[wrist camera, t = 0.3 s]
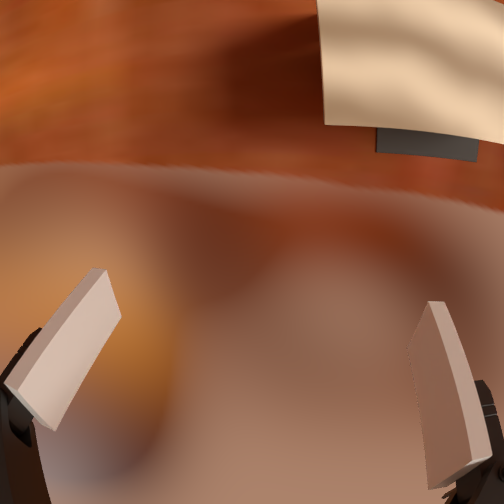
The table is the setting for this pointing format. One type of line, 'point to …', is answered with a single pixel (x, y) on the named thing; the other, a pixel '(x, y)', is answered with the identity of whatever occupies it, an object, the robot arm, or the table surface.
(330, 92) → the bridge
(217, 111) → the table surface
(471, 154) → the pit mat
